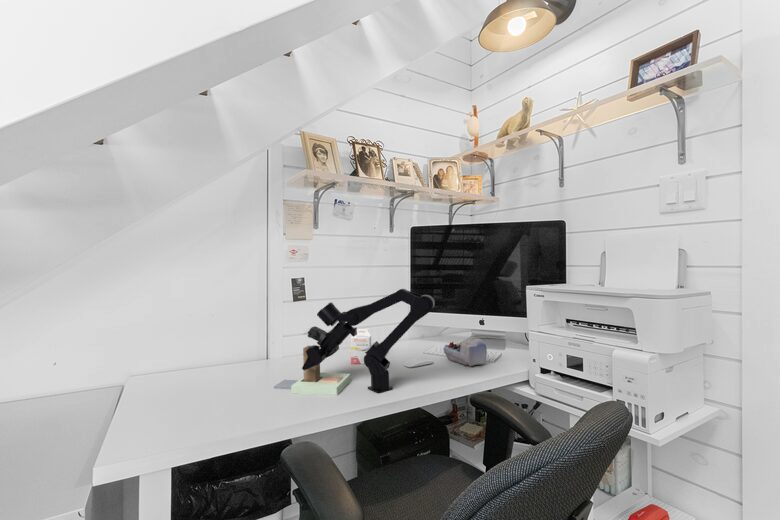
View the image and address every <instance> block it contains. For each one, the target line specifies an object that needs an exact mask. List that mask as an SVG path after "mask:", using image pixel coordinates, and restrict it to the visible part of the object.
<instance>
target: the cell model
mask: <svg viewBox="0 0 780 520" xmlns="http://www.w3.org/2000/svg"><path fill="white" fill-rule="evenodd" d="M442 349H443V353H444V355H445V356H446V359H448V360H449V361H451V362H453V363H459V364H461V365H463V366H469V367H473V366H476V365H477V366H478V365H486V363H487V356H488V355H487V354H488V351H487V350H488V348H487V345H486V344H485V342H484V341H483V340H482V339H481V338H475V339H471V340H470V341H465V342H464V341H463V342H459V343H454V341H452V342H449V344H444V346H443V348H442Z"/></svg>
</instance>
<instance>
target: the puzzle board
mask: <svg viewBox="0 0 780 520" xmlns="http://www.w3.org/2000/svg"><path fill="white" fill-rule="evenodd" d="M298 380H299V381H297V382H296V383H294V384H293V385H292V386H291V389H290V392H291V394H300V395H301V394H302V395H323V396H324V395H325V396H338V395H339V394H340V393H341V391H343V389H344V388H345V387H346V386H347V385H349V383H350V382H351V381H352V373H340V372H339V373H338V372H336V373H335V372H334V373H333V372H320V380H319V381H318V382H304V376H303V377H301V378H300V379H298Z"/></svg>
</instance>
